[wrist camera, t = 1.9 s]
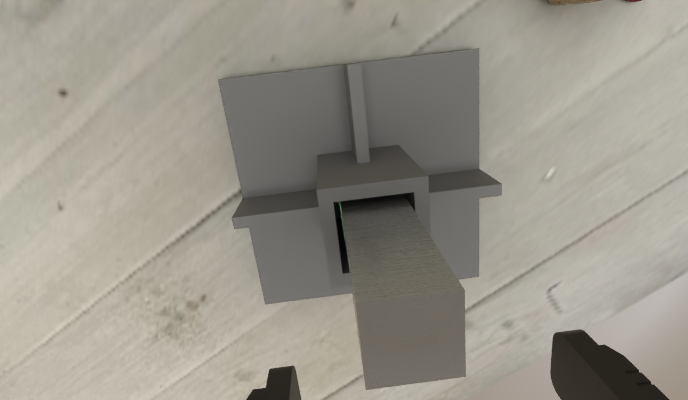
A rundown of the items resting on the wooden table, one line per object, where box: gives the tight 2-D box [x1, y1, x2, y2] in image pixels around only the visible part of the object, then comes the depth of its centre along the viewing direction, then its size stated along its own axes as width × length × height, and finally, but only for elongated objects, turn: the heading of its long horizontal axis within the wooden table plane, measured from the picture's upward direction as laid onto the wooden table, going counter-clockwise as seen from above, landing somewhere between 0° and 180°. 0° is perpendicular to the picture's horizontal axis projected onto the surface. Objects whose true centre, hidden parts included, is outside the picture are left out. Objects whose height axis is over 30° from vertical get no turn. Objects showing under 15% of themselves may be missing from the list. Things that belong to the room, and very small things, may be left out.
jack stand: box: [218, 48, 502, 304], centre depth 26 cm, size 18×18×12 cm
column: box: [339, 194, 466, 390], centre depth 22 cm, size 4×4×17 cm
